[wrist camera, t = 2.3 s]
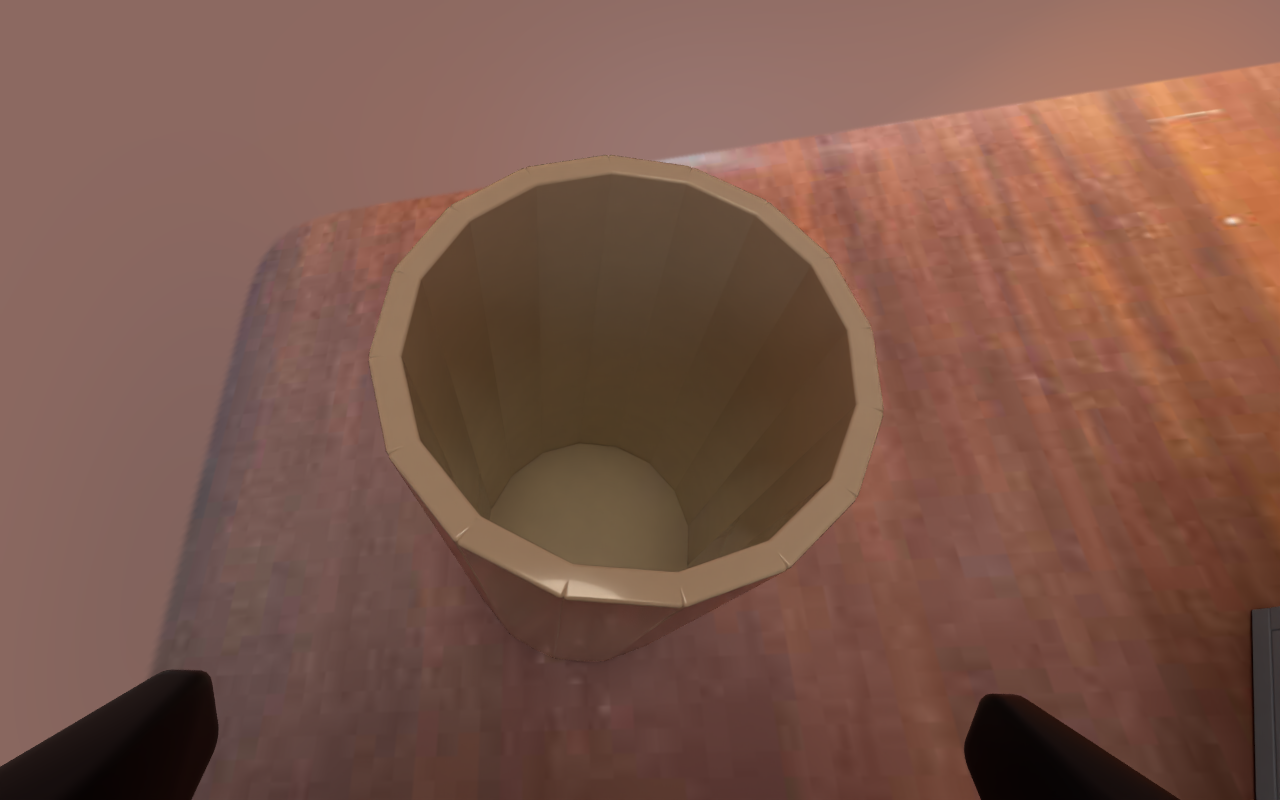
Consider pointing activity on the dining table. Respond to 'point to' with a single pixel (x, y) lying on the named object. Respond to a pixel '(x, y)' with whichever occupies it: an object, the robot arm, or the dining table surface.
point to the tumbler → (622, 396)
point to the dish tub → (1267, 701)
